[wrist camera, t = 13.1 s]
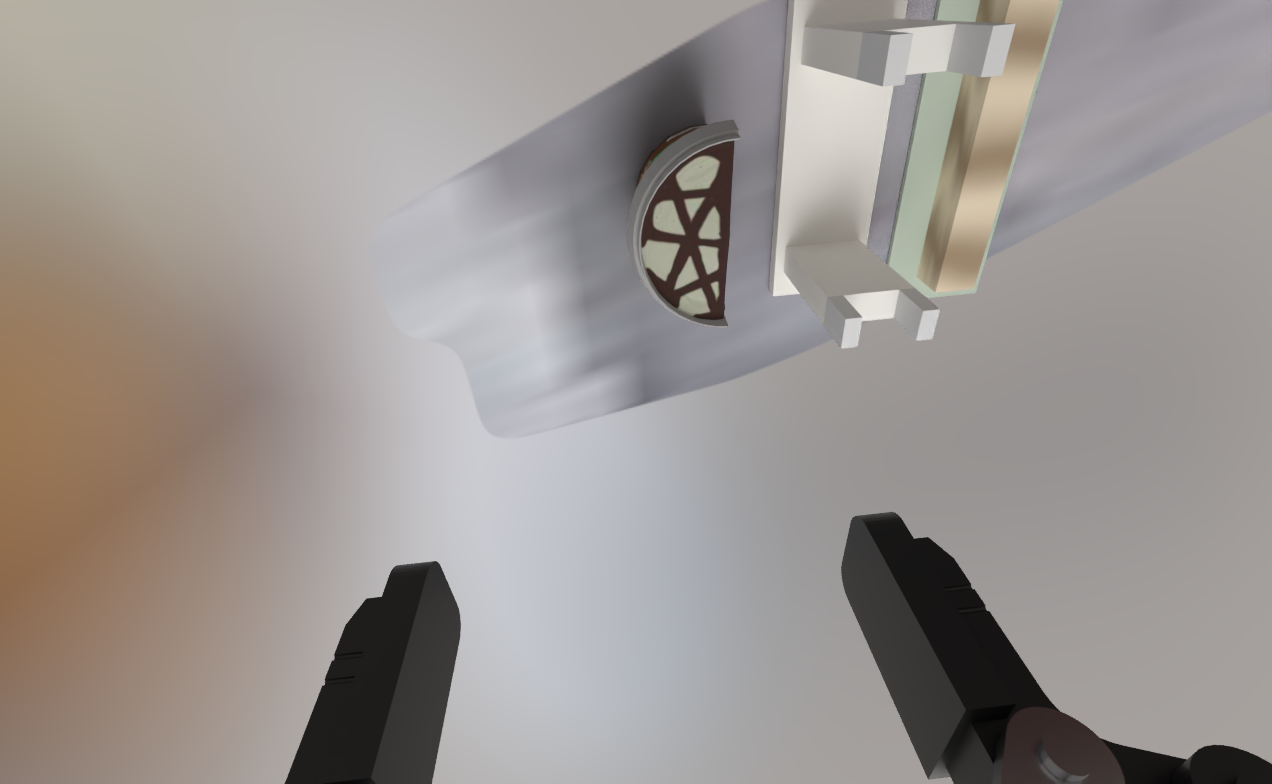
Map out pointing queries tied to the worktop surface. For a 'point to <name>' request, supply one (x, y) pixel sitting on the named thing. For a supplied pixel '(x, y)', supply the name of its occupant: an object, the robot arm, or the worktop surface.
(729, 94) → the worktop surface
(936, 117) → the mat
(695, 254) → the food container
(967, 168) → the rail
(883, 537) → the robot arm
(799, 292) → the rack
